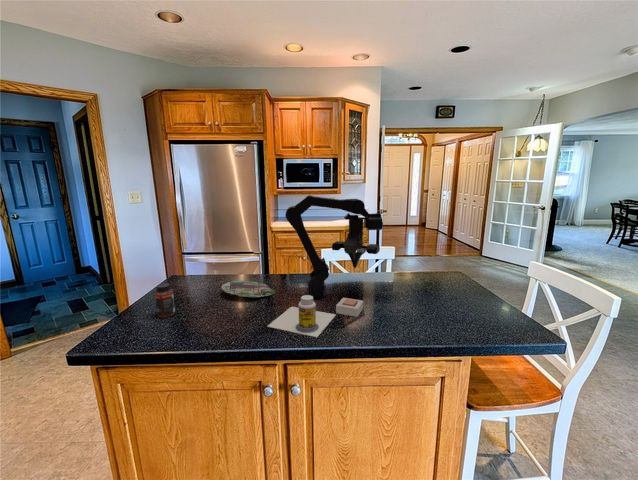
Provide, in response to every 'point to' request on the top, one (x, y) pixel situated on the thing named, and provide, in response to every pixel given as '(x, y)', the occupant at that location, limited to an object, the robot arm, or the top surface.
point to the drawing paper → (291, 322)
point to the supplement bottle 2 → (307, 313)
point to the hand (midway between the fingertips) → (355, 267)
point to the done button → (350, 302)
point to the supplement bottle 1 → (164, 301)
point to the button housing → (349, 308)
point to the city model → (247, 289)
